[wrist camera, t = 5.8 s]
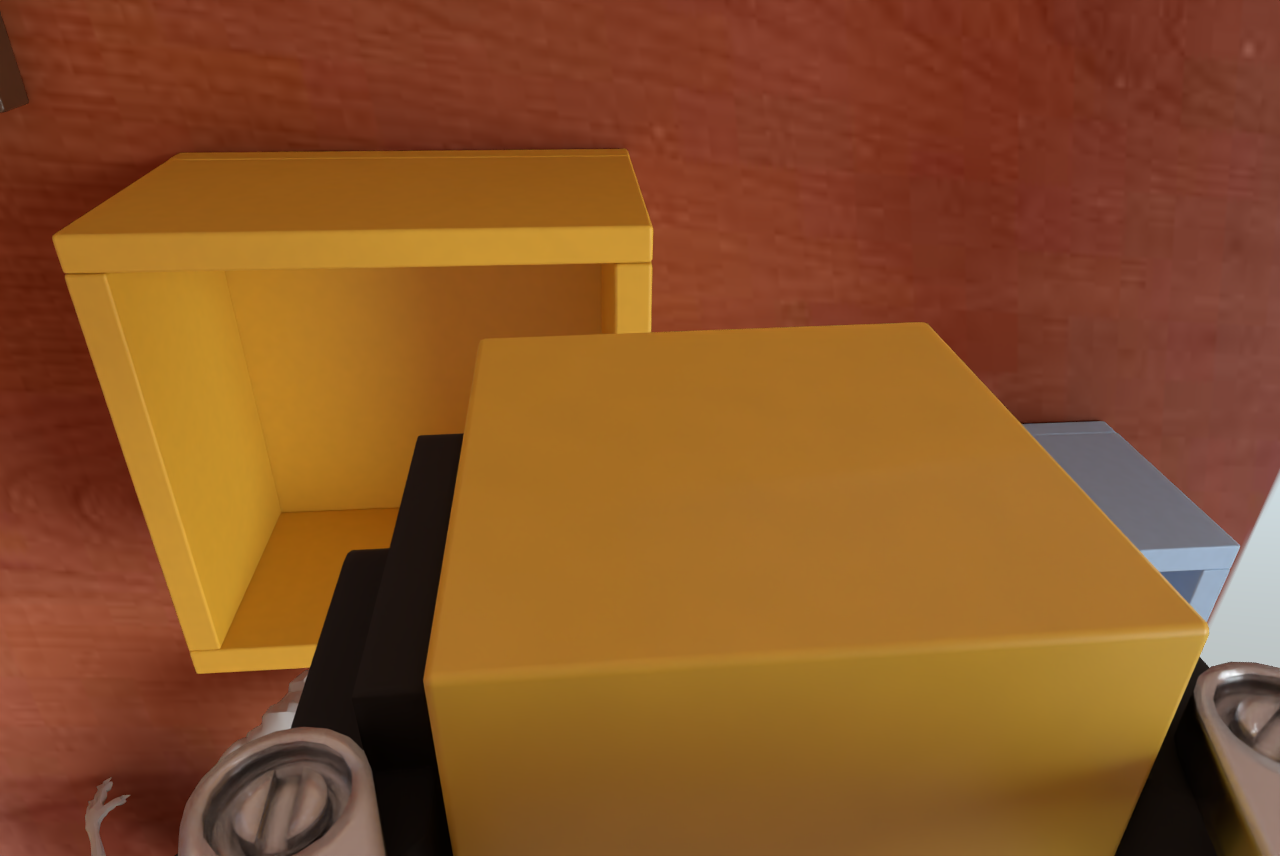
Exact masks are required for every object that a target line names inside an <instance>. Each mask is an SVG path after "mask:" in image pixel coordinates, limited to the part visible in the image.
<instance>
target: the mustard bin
mask: <svg viewBox="0 0 1280 856" xmlns="http://www.w3.org/2000/svg"><path fill="white" fill-rule="evenodd" d="M52 241H53V244H54V247H55V250H56V253H57V256H58V259H59V262H60V265H61V268H62V270H63V272H64V273H67V274H66V275H65V281H66V284H67V287H68V290H69V293H70V296H71V299H72V302H73V305H74V308H75V311H76V314H77V317H78V320H79V323H80V326H81V329H82V332H83V335H84V338H85V341H86V344H87V347H88V350H89V353H90V356H91V359H92V362H93V365H94V368H95V371H96V374H97V377H98V380H99V383H100V386H101V389H102V392H103V395H104V398H105V401H106V404H107V407H108V410H109V413H110V416H111V419H112V422H113V425H114V428H115V431H116V434H117V437H118V440H119V443H120V446H121V449H122V452H123V455H124V458H125V461H126V464H127V467H128V470H129V473H130V476H131V479H132V482H133V485H134V488H135V491H136V494H137V497H138V500H139V503H140V506H141V509H142V512H143V515H144V518H145V521H146V524H147V527H148V530H149V533H150V536H151V539H152V542H153V545H154V548H155V551H156V554H157V557H158V560H159V563H160V566H161V569H162V572H163V575H164V578H165V581H166V584H167V587H168V590H169V593H170V596H171V599H172V602H173V605H174V608H175V611H176V614H177V617H178V620H179V623H180V626H181V629H182V632H183V635H184V638H185V641H186V644H187V647H188V649H189V650H190V656H191V659H192V662H193V665H194V668H195V671H196V673H197V674H204V673H222V672H240V671H259V670H277V669H295V668H310V666H311V662H312V659H313V656H314V653H315V650H316V647H317V644H318V640H319V637H320V634H321V631H322V628H323V625H324V622H325V618H326V615H327V612H328V609H329V606H330V603H331V600H332V596H333V593H334V590H335V587H336V584H337V581H338V578H339V575H340V571H341V568H342V565H343V562H344V560H345V558H346V556H347V553H349V552H350V551H351V550H363V549H381V548H390V544H391V540H392V536H393V532H394V528H395V524H396V520H397V516H398V512H399V508H400V504H401V500H402V496H403V492H404V488H405V484H406V480H407V477H408V473H409V469H410V465H411V461H412V457H413V453H414V449H415V445H416V441H417V438H418V436H420V435H438V434H459V433H464V429H465V423H466V417H467V411H468V405H469V399H470V393H471V387H472V381H473V375H474V369H475V363H476V357H477V350H478V345H479V342H480V340H483V339H490V338H516V337H543V336H570V335H596V334H623V333H649V332H651V309H652V264H651V260H652V256H653V227H652V224H651V221H650V218H649V215H648V212H647V209H646V206H645V203H644V200H643V197H642V194H641V191H640V187H639V184H638V181H637V178H636V175H635V172H634V169H633V166H632V163H631V160H630V156H629V153H628V151H627V150H626V149H559V150H442V151H325V152H208V153H178V154H176V155H175V156H173V157H172V158H170V159H169V160H168V161H166V162H165V163H163V164H161V165H160V166H158V167H157V168H155V169H154V170H152V171H151V172H149V173H148V174H146V175H145V176H143V177H141V178H140V179H138V180H137V181H135V182H134V183H132V184H131V185H129V186H128V187H126V188H125V189H123V190H121V191H120V192H118V193H117V194H115V195H114V196H112V197H111V198H109V199H108V200H106V201H105V202H103V203H101V204H100V205H98V206H97V207H95V208H94V209H92V210H91V211H89V212H88V213H86V214H85V215H83V216H82V217H80V218H78V219H77V220H75V221H74V222H72V223H71V224H69V225H68V226H66V227H65V228H63V229H62V230H60V231H58V232H57V233H55V234H54V235H53V236H52Z"/></svg>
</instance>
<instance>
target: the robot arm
mask: <svg viewBox="0 0 1280 856" xmlns="http://www.w3.org/2000/svg"><path fill="white" fill-rule="evenodd" d="M463 435H464V433H459V434H438V435H420V436H418V438H417V441H416V445H415V449H414V453H413V457H412V461H411V465H410V469H409V473H408V477H407V480H406V484H405V488H404V492H403V496H402V500H401V504H400V508H399V512H398V516H397V520H396V524H395V528H394V532H393V536H392V540H391V544H390V548H381V549H363V550H351V551H350V552H349V553H347V556H346V558H345V560H344V562H343V565H342V568H341V571H340V575H339V578H338V581H337V584H336V587H335V590H334V593H333V596H332V600H331V603H330V606H329V609H328V612H327V615H326V618H325V622H324V625H323V628H322V631H321V634H320V637H319V640H318V644H317V647H316V650H315V653H314V656H313V659H312V662H311V666H310V669H309V672H308V675H307V678H306V681H305V684H304V688H303V691H302V694H301V697H300V700H299V703H298V706H297V710H296V713H295V716H294V719H293V722H292V725H291V728H290V729H286V730H280V731H275V732H272V733H270V734H267V735H265V736H262V737H259V738H257V739H254V740H252V741H249V742H247V743H246V744H244V745H242V746H241V747H239V748H238V749H236V750H235V751H233V752H231V753H230V754H228V755H227V756H225V757H224V758H222V759H221V760H220V761H219V762H218V763H217V764H216V765H215V766H214V767H213V768H212V769H211V770H210V771H209V772H208V773H207V774H206V775H205V776H204V777H203V778H202V779H201V780H200V782H199V783H198V785H197V786H196V788H195V790H194V791H193V793H192V794H191V796H190V798H189V799H188V801H187V802H186V805H185V809H184V813H183V817H182V821H181V825H180V830H179V846H178V854H177V855H175V856H453V852H452V846H451V840H450V834H449V829H448V823H447V817H446V811H445V805H444V800H443V794H442V788H441V782H440V776H439V770H438V765H437V759H436V753H435V747H434V741H433V735H432V730H431V724H430V718H429V712H428V706H427V700H426V695H425V689H424V683H423V678H424V672H425V666H426V660H427V654H428V648H429V641H430V635H431V629H432V623H433V617H434V611H435V605H436V599H437V593H438V587H439V581H440V575H441V569H442V563H443V557H444V551H445V544H446V538H447V532H448V526H449V520H450V514H451V508H452V502H453V496H454V490H455V484H456V478H457V472H458V466H459V460H460V454H461V447H462V441H463ZM1114 856H1280V668H1277V667H1273V666H1268V665H1264V664H1259V663H1252V662H1228V663H1224V664H1220V665H1216V666H1212V667H1210V668H1209V667H1208V666H1207V665H1206V663H1205V662H1204V661H1203V660H1202V659H1201V658H1200V657H1199V659H1198V661H1197V664H1196V666H1195V668H1194V671H1193V673H1192V675H1191V678H1190V680H1189V682H1188V685H1187V687H1186V689H1185V692H1184V694H1183V696H1182V699H1181V701H1180V703H1179V706H1178V708H1177V710H1176V713H1175V715H1174V717H1173V720H1172V722H1171V724H1170V727H1169V729H1168V731H1167V734H1166V736H1165V738H1164V741H1163V743H1162V745H1161V748H1160V750H1159V752H1158V755H1157V757H1156V759H1155V762H1154V764H1153V766H1152V769H1151V771H1150V773H1149V776H1148V778H1147V780H1146V783H1145V785H1144V787H1143V790H1142V792H1141V794H1140V797H1139V799H1138V801H1137V804H1136V806H1135V808H1134V811H1133V813H1132V815H1131V818H1130V820H1129V822H1128V825H1127V827H1126V829H1125V832H1124V834H1123V836H1122V839H1121V841H1120V843H1119V846H1118V848H1117V850H1116V853H1115V855H1114Z"/></svg>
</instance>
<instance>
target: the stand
mask: <svg viewBox="0 0 1280 856" xmlns="http://www.w3.org/2000/svg"><path fill="white" fill-rule="evenodd" d="M28 103H29V100H28V97H27V94H26V91H25V88H24V85H23V82H22V79H21V75H20V72H19V69H18V66H17V63H16V60H15V57H14V54H13V50H12V47H11V44H10V41H9V38H8V35H7V32H6V29H5V26H4V22H3V19H2V16H1V13H0V113H4V112H6V111H9V110H12V109H15V108H17V107H20V106H23V105H25V104H28Z"/></svg>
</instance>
